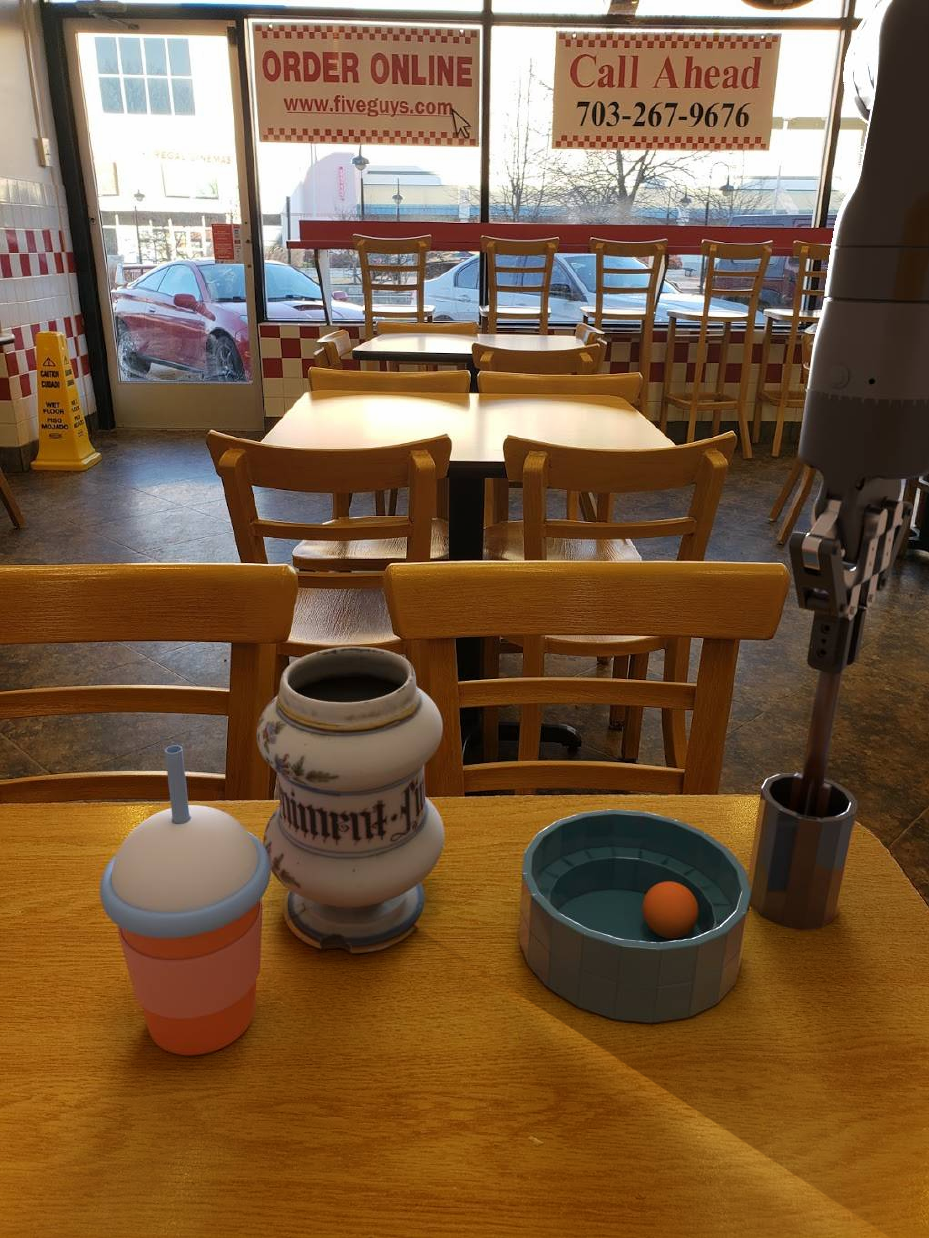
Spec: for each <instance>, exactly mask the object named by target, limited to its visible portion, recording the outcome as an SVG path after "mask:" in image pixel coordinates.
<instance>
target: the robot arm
mask: <svg viewBox="0 0 929 1238" xmlns="http://www.w3.org/2000/svg"><path fill="white" fill-rule="evenodd" d="M843 82H844V83H843V84H844V89H845V94H846V96H847V99H848V102H849V104H850V106H851V107H852V109H853V110H854V112H855V113H856V114H857V115H858V117H859V118H860V119H862V121H864V122H865V123H867V124H868V126H867V131H866V136H865V143H864V147H863V153H862V157H861V158H862V159H861V165H860V168H859V172H858V175H857V179H856V181H855V183H854V185H853V187H852V188H851V189H850V190H849V192H848V193H847V194H846V196H845V197H844V199H843V201H842V203H841V206H840V208H839V211H838V213H837V218H836V221H835V225H834V231H833V238H832V242H831V248H830V255H829V263H828V268H827V269H828V270H827V278H826V283H825V290H824V297H825V298H824V299H823V304H822V309H821V313H820V317H819V320H818V324H817V327H816V331H815V334H814V339H813V344H812V351H811V352H812V353H811V357H810V364H809V371H808V372H809V373H808V380H807V386H806V394H805V401H804V407H803V408H804V409H803V416H802V423H801V429H800V438H799V445H798V452H797V454H798V458H799V460H800V461H801V463H802V464H803V465H804V466H806V467H808V468H810V469H816V470H817V471H818V472H819V473H820V474H821V475H822V480H823V481H822V482H821V484H820V488H819V491H818V495H817V498H816V499H815V500H814V502H813V505H812V510H811V515H810V526H811V530H810V531H809V532H808V533H806V532H801V531H797V530H795V531H793V533H792V534H791V536H790V539H789V541H788V551H789V552H788V553H789V557H790V564H791V569H792V575H793V580H794V587H795V593H796V597H797V598H796V599H797V604H798V605H797V606H798V608H800V609H804V610H807V611H812V612H813V619H812V626H811V630H810V631H811V632H810V638H809V645H808V651H807V656H806V657H807V658H806V662H807V666H808V667H810V668H811V669H813V670H817V671H819V670H820V671H823V672H827V673H830V674H834V675H836V674H839V673H840V672H842V671H843V672H844V671H845V670H846V668H847V666H850V665H852V664H854V663H855V662H856V661H857V660H858V659H859V656H860V651H861V644H862V639H863V634H864V627H865V621H866V617H867V610H868V609H870V608H871V607H872V605H873V604H874V603H875V600H876V592H877V591H878V592H883V591H884V590H885V588H886V586H887V584H888V580H889V577H890V575H891V572H892V569H893V567H894V564H895V561H896V558H897V557H898V553H899V550H900V548H901V545H902V542H903V539H904V537H905V535H906V531H907V529H908V526H909V523H910V520H911V517H912V516H913V513H914V505H913V502H908V501H903V500H900V497H901V493H902V480H910V479H911V480H912V479H918V478H923V477H925V476H927V475H929V0H879V1H878V2H877V3H876V4H875V5H874V6H873V7H872V8H871V9H870V10H869V11H868V13H866V15H865V17H864V18H863V19H862V21H860V24H859V25H858V27H857V28H856V31H855V32H854V35H853V36H852V39H851V41H850V44H849V46H848V49H847V52H846V56H845V61H844V70H843ZM866 608H867V609H866ZM843 672H842V673H843Z"/></svg>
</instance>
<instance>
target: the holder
mask: <svg viewBox="0 0 929 1238" xmlns="http://www.w3.org/2000/svg"><path fill="white" fill-rule="evenodd" d="M797 773H799V774H802V772H786V773H785V772H784V773H777V774H776V775H773V776H771V777H769V778H766V779H765V780H764V782H763V784H762V786H761V789H760V795H759V802H758V808H757V815H756V822H755V827H754V835H753V840H752V847H751V853H750V854H751V855H750V861H749V866H748V867H749V868H748V873H747V877H748V881H749V885H750V888H751V900H750V907H752V909H754V910H755V912H756V913H758V914H759V915H760V916H762V917H763V918H765V919H766V920H768V921H769V922H772V923H775V924H776V925H779V926H782V927H786V928H790V929H795V930H803V931H804V930H806V931H807V930H817V929H820V928H824V927H826V926H828V925H829V924H831V923H832V922H833V921H834V920H835V918H836V915H837V912H838V909H839V903H840V899H841V893H842V888H843V882H844V877H845V872H846V867H847V863H848V857H849V852H850V848H851V842H852V837H853V832H854V828H855V822H856V816H857V813H858V812H857V811H858V806H859V803H858V802H857V800H856V798H855V796H854V794H853V793H852V792H851V791H850V790H848V789H847V788H845V787H844V786H842V785H841V784H840V783H837V782H836V781H833V780H830V779H828V778H824V783H826V784H829V785H831V786H832V787H831V793H830V799H829V804H828V810H827V816H826V817H822V818H819V817H813V816H807V815H801V814H799V813H796V812H794V811H791V810H789V803H790V797H791V790H792V784H793V778H794V775H795V774H797Z"/></svg>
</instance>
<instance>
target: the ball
mask: <svg viewBox="0 0 929 1238" xmlns="http://www.w3.org/2000/svg"><path fill="white" fill-rule="evenodd" d="M643 916H644V919H645V921H646V923H647V925H648V926H649V928H650V929H651V930H652V931H653V932H655V933H656V934H657V935H659V936H661V937H664V938H669V939H675V938H680V937H683V936H685V935H686V934H688V933H689V932H690V931H691V930H692V929H693V928H694V926H695V924H696V922H697V919H698V905H697V901H696V899H695V897H694V895H693V894H692V893H691V891H690V890H689V889H687V888H686V887H685V886H683V885H681V884H679V883H676V882H671V881H667V882H661V883H658V884H656V885H655V886H653V887H652V888H651V889H650V890H649V891H648V892H647V894H646V896H645V898H644V901H643Z"/></svg>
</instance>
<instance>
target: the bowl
mask: <svg viewBox="0 0 929 1238" xmlns="http://www.w3.org/2000/svg"><path fill="white" fill-rule="evenodd" d="M522 857H523V858H522V868H521V882H520V883H521V884H520V885H521V886H520V908H519V927H518V943H519V945H520V948H521V951H522V954H523V956H524V958H525V961H526V963H527V966H528V968H530V970H531V971H532V972H533V973H534V974H535V975H536V976H537V977H538V979H539V980H540V982H542V984H544V985H545V987H546V988H547V989H549V990H550V991H552V992H553V993H555V994H556V995H558V996H560V997H561V998H562V999H564V1000H566V1001H568V1002H569V1003H571V1004H573V1005H574V1006H576V1007H577V1008H579V1009H583V1010H585V1011H587V1012H591V1013H594V1014H597V1015H600V1016H603V1017H606V1018H608V1019H612V1020H615V1021H625V1022H634V1023H635V1022H636V1023H647V1024H653V1023H663V1022H669V1021H676V1020H682V1019H688V1018H691V1017H693V1016H695V1015H697V1014H699V1013H702V1012H703V1011H706V1010H708V1009H710V1008H712V1007H714V1006H716V1005H717V1004H719V1003H720V1002H721V1001H722V999H723V998H724V997H725V996H726V995H727V994H728V993H729V992H730V991H731V990H732V988H734V986H735V985H736V982H737V978H738V974H739V972H740V968H741V967H740V966H741V963H742V958H743V952H744V944H745V940H746V939H745V938H746V931H747V926H748V920H749V912H750V907H751V904H750V900H751V888H750V885H749V881H748V873H747V870H746V869H745V868H744V866H743V865H742V864H741V863H740V861H739V859H737V857H736V856H735V855H734V854H733V852H732V851H731V850H730V849H729V847H726V846H725V845H724V844H723V843H721V842H720V841H718V840H717V839H716V838H714V837H712V836H711V835H710V834H708V833H707V832H705V831H704V830H701V829H699V828H697V827H694V826H693V825H690V824H687V823H685V822H683V821H682V820H681V821H680V820H679V819H676V818H672V817H669V816H663V815H660V814H655V813H651V812H648V811H643V810H642V811H641V810H629V809H628V810H627V809H615V808H614V809H613V808H612V809H611V808H610V809H602V810H593V811H584V812H580V813H576V814H573V815H570V816H568V817H564V818H561V819H558V820H556V821H554V822H552V823H551V824H550V825H548V826H547V827H545V828H543V829H542V830H541V831H539V832H538V833H536V834H535V835H534V837H533V839H531V841H530V842H529V845H528V846H527V847H526V848H525V850H524V852H523V856H522ZM667 881H671V882H676V883H679V884H681V885H683V886H685V887H686V888H687V889H689V890H690V891H691V893H692V894H693V895H694V897H695V899H696V901H697V905H698V919H697V922H696V924H695V926H694V928H693V929H692V930H691V931H690V932H689V933H688V934H686V935H685V936H683V937H680V938H675V939H669V938H664V937H661V936H659V935H657V934H656V933H655V932H653V931H652V930H651V929H650V928H649V926H648V925H647V923H646V921H645V919H644V916H643V901H644V898H645V896H646V894H647V892H648V891H649V890H650V889H651V888H652V887H653V886H655V885H656V884H658V883H661V882H667Z"/></svg>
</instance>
